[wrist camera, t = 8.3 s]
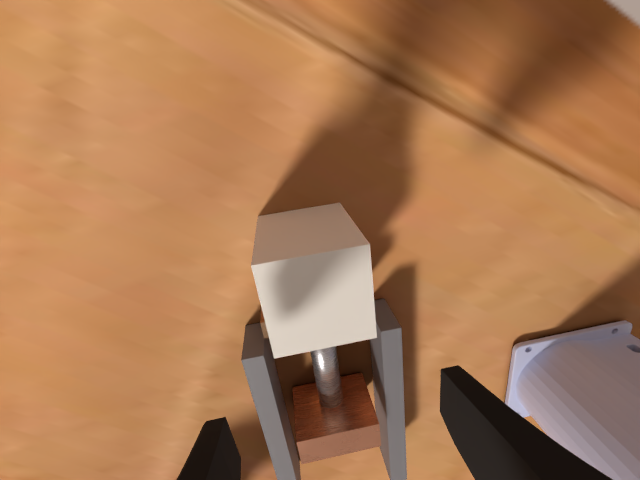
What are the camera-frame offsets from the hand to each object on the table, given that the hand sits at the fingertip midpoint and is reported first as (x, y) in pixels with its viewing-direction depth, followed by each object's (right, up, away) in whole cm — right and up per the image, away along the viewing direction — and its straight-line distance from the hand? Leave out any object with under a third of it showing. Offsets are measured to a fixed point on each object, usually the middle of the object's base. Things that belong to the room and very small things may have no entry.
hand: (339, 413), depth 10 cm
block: (-1, +5, +8) cm, 10 cm away
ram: (0, -1, +11) cm, 11 cm away
